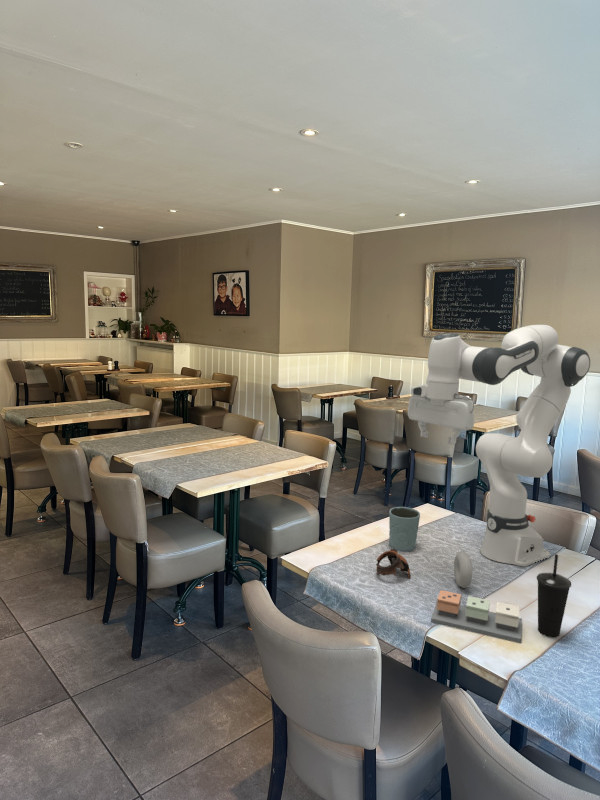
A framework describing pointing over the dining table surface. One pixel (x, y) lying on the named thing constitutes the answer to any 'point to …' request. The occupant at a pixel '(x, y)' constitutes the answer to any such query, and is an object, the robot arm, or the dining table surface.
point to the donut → (463, 569)
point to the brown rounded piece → (392, 563)
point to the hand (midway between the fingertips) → (437, 440)
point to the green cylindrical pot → (403, 528)
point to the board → (478, 624)
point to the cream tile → (507, 614)
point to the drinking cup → (551, 601)
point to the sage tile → (477, 608)
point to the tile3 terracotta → (448, 602)
